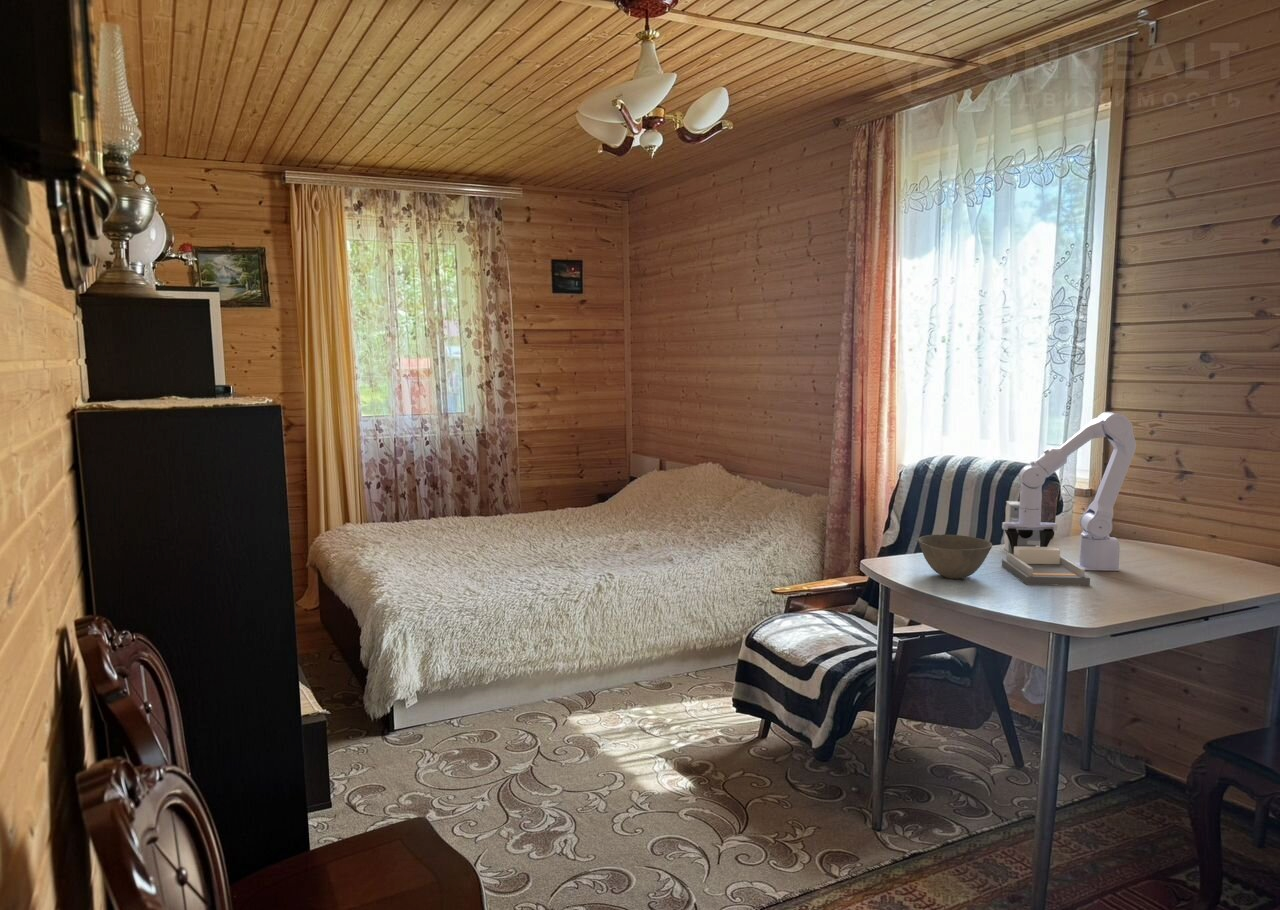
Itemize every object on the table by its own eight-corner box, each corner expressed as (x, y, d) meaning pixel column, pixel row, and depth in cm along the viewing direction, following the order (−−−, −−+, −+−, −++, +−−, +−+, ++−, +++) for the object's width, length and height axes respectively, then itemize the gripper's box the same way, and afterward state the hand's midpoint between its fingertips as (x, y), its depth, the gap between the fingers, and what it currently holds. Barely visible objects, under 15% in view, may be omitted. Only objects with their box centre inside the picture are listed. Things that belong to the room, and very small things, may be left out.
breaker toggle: (1054, 560, 236) (1054, 547, 236) (1059, 564, 232) (1060, 550, 232) (1013, 560, 238) (1014, 546, 237) (1018, 563, 234) (1018, 549, 233)
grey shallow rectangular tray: (1060, 567, 238) (1060, 553, 238) (1089, 585, 219) (1090, 570, 218) (1001, 565, 240) (1002, 552, 240) (1025, 584, 220) (1026, 569, 220)
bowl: (905, 578, 227) (906, 542, 226) (933, 565, 241) (934, 531, 240) (975, 590, 215) (976, 552, 214) (1000, 576, 229) (1002, 540, 228)
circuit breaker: (1012, 558, 250) (1014, 508, 248) (1004, 547, 263) (1005, 500, 262) (1040, 559, 248) (1042, 509, 246) (1029, 548, 262) (1031, 501, 260)
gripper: (1051, 505, 243) (1049, 551, 245) (999, 505, 245) (997, 550, 246) (1060, 510, 236) (1058, 557, 238) (1007, 509, 238) (1005, 556, 239)
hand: (1028, 554), depth 241 cm, fingers open, 7 cm apart
